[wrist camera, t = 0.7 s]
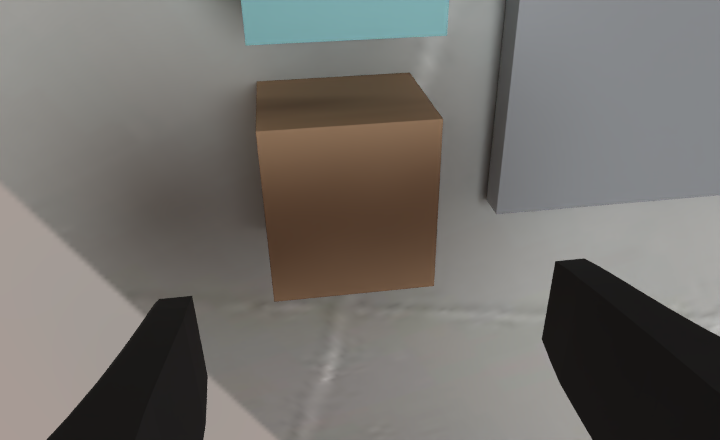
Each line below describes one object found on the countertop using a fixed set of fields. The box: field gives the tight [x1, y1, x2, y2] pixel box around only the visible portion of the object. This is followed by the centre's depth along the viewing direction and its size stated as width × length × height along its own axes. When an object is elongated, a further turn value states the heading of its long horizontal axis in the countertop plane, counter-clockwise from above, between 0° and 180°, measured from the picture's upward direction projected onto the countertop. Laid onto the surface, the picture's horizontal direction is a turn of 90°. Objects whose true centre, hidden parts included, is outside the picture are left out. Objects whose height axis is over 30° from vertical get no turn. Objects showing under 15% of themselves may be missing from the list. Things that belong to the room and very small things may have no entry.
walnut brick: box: [256, 73, 443, 302], centre depth 18 cm, size 5×4×4 cm
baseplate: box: [487, 0, 720, 214], centre depth 18 cm, size 12×12×1 cm
